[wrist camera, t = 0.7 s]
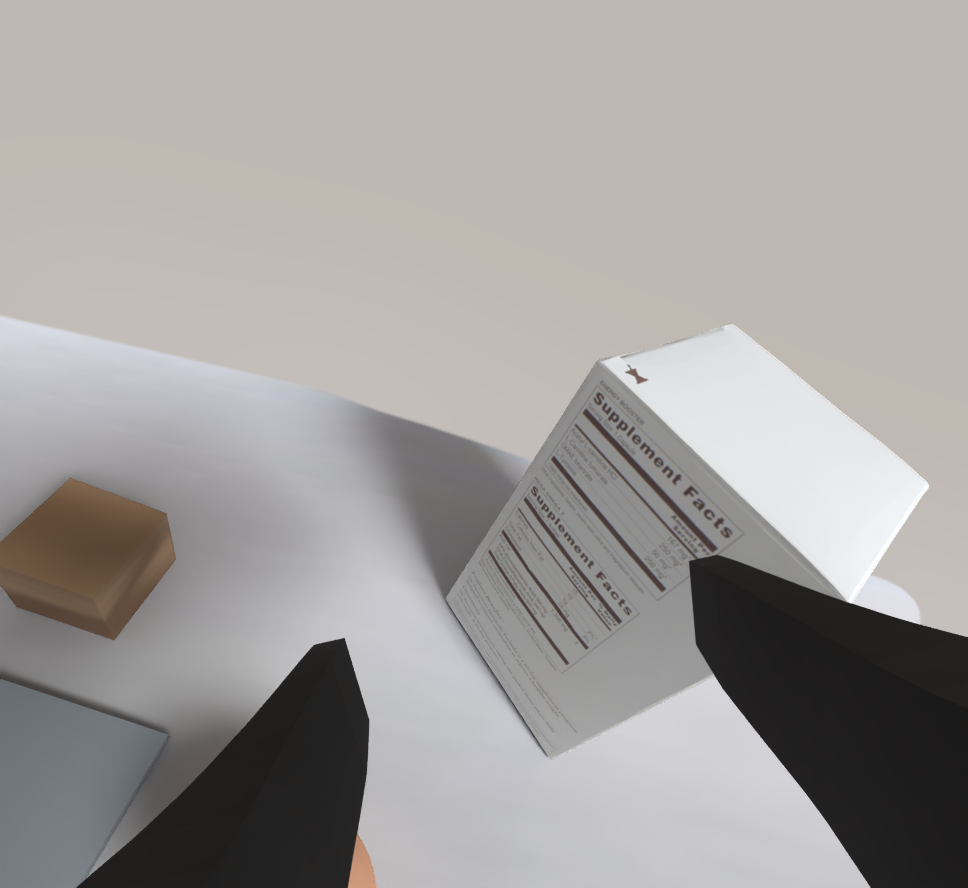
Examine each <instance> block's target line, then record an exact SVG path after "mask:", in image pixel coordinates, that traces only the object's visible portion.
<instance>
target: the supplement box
mask: <svg viewBox="0 0 968 888" xmlns="http://www.w3.org/2000/svg"><path fill="white" fill-rule="evenodd" d="M928 488H929V485H928V483H927V482H926V481H925V480H924V479H923V478H922V477H920V475H919V474H917V473H916V472H915V471H914V470H913V469H912V468H911V467H910V466H909V465H908V464H906V463H905V462H904V461H903V460H902V459H901V458H899V457H898V456H897V455H896V454H894V453H893V452H892V451H891V450H890V449H888V448H887V447H886V446H885V445H884V444H882V443H881V442H880V441H878V440H877V439H876V438H875V437H874V436H872V435H871V434H870V433H868V432H867V431H866V430H865V429H863V428H862V427H861V426H859V425H858V424H857V423H855V422H854V421H853V420H851V419H850V418H849V417H848V416H846V415H845V414H844V413H843V412H841V411H840V410H839V409H837V408H836V407H835V406H834V405H833V404H832V403H830V402H829V401H828V400H827V399H825V398H824V397H823V396H822V395H821V394H819V393H818V392H817V391H816V390H814V389H813V388H812V387H811V386H809V385H808V384H807V383H806V382H805V381H803V380H802V379H801V378H800V377H798V376H797V375H796V374H795V373H794V372H792V371H791V370H790V369H789V368H787V367H786V366H785V365H784V364H783V363H781V362H780V361H779V360H778V359H776V358H775V357H774V356H773V355H772V354H770V353H769V352H768V351H766V350H765V349H764V348H762V347H761V346H760V345H759V344H758V343H756V342H755V341H754V340H752V339H751V338H750V337H749V336H747V335H746V334H745V333H744V332H742V331H741V330H740V329H739V328H737V327H736V326H735V325H733V324H726V325H723V326H721V327H718V328H715V329H712V330H709V331H706V332H703V333H700V334H698V335H694V336H691V337H688V338H684V339H681V340H677V341H674V342H671V343H667V344H664V345H661V346H657V347H653V348H649V349H645V350H640V351H636V352H632V353H628V354H624V355H619V356H614V357H609V358H604V359H600V360H598V361H597V362H596V363H595V365H594V366H593V368H592V369H591V371H590V373H589V374H588V375H587V377H586V379H585V380H584V382H583V383H582V385H581V386H580V388H579V390H578V391H577V393H576V394H575V396H574V397H573V399H572V401H571V402H570V404H569V405H568V407H567V408H566V410H565V411H564V413H563V415H562V416H561V418H560V419H559V421H558V423H557V424H556V426H555V428H554V429H553V430H552V432H551V433H550V435H549V437H548V438H547V440H546V441H545V443H544V445H543V446H542V447H541V449H540V451H539V452H538V454H537V455H536V457H535V459H534V460H533V462H532V463H531V465H530V467H529V468H528V470H527V471H526V473H525V475H524V476H523V478H522V479H521V481H520V482H519V484H518V486H517V487H516V489H515V491H514V492H513V494H512V495H511V497H510V498H509V500H508V501H507V503H506V504H505V506H504V507H503V509H502V511H501V512H500V514H499V515H498V517H497V518H496V520H495V522H494V523H493V524H492V526H491V528H490V529H489V531H488V532H487V534H486V536H485V537H484V539H483V540H482V542H481V543H480V545H479V546H478V548H477V549H476V551H475V553H474V554H473V556H472V557H471V559H470V560H469V562H468V564H467V565H466V566H465V568H464V570H463V571H462V573H461V574H460V576H459V577H458V579H457V580H456V582H455V584H454V585H453V587H452V588H451V590H450V592H449V593H448V595H447V596H446V601H447V602H448V604H449V606H450V607H451V609H452V610H453V612H454V613H455V615H456V616H457V618H458V619H459V621H460V622H461V624H462V626H463V627H464V629H465V630H466V632H467V633H468V635H469V636H470V638H471V639H472V641H473V642H474V644H475V645H476V647H477V648H478V650H479V651H480V653H481V654H482V656H483V658H484V659H485V661H486V662H487V664H488V665H489V667H490V668H491V670H492V671H493V673H494V674H495V676H496V677H497V679H498V680H499V682H500V683H501V685H502V686H503V688H504V690H505V691H506V693H507V694H508V696H509V697H510V699H511V700H512V702H513V703H514V705H515V706H516V708H517V710H518V711H519V713H520V714H521V716H522V717H523V719H524V720H525V722H526V723H527V725H528V726H529V728H530V729H531V731H532V732H533V734H534V736H535V737H536V739H537V740H538V742H539V743H540V745H541V746H542V748H543V749H544V751H545V753H546V754H547V756H548V757H549V758H550V759H555V758H557V757H559V756H561V755H563V754H565V753H567V752H569V751H571V750H573V749H575V748H577V747H579V746H581V745H583V744H585V743H586V742H588V741H590V740H592V739H594V738H596V737H598V736H600V735H602V734H604V733H606V732H608V731H610V730H612V729H614V728H615V727H617V726H619V725H621V724H623V723H625V722H627V721H629V720H631V719H633V718H635V717H637V716H639V715H641V714H643V713H645V712H647V711H649V710H650V709H652V708H654V707H656V706H658V705H660V704H662V703H664V702H666V701H668V700H670V699H672V698H674V697H676V696H677V695H679V694H681V693H683V692H685V691H687V690H689V689H691V688H693V687H695V686H697V685H699V684H701V683H703V682H705V681H707V680H709V679H711V678H713V677H715V675H714V674H713V672H712V671H711V669H710V668H709V666H708V664H707V662H706V661H705V659H704V657H703V656H702V654H701V652H700V651H699V649H698V647H697V646H696V641H695V629H694V617H693V605H692V594H691V582H690V570H689V561H690V560H695V559H699V558H704V557H708V556H713V555H720V556H723V557H727V558H730V559H733V560H736V561H738V562H741V563H744V564H746V565H749V566H752V567H754V568H757V569H760V570H762V571H765V572H767V573H770V574H773V575H775V576H778V577H780V578H783V579H786V580H788V581H791V582H794V583H796V584H799V585H801V586H804V587H807V588H810V589H812V590H815V591H818V592H820V593H823V594H826V595H829V596H832V597H834V598H837V599H840V600H843V601H846V602H849V603H853V601H854V600H855V598H856V596H857V595H858V593H859V591H860V590H861V588H862V587H863V585H864V584H865V582H866V581H867V579H868V578H869V576H870V575H871V573H872V572H873V570H874V569H875V567H876V565H877V564H878V562H879V561H880V559H881V558H882V556H883V554H884V553H885V551H886V550H887V548H888V547H889V545H890V544H891V542H892V540H893V539H894V537H895V536H896V534H897V533H898V531H899V530H900V528H901V527H902V525H903V524H904V522H905V521H906V519H907V518H908V516H909V515H910V513H911V512H912V510H913V509H914V507H915V506H916V504H917V503H918V501H919V500H920V498H921V497H922V495H923V494H924V492H925V491H926V490H927V489H928Z"/></svg>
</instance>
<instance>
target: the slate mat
mask: <svg viewBox="0 0 968 888" xmlns="http://www.w3.org/2000/svg"><path fill="white" fill-rule="evenodd" d="M169 738H170V736H169V735H168V734H165V733H162V732H159V731H156V730H153V729H150V728H147V727H144V726H141V725H138V724H135V723H132V722H129V721H126V720H123V719H120V718H117V717H114V716H111V715H108V714H105V713H102V712H99V711H96V710H93V709H90V708H87V707H84V706H81V705H78V704H75V703H72V702H69V701H66V700H63V699H60V698H57V697H54V696H51V695H48V694H45V693H42V692H39V691H36V690H33V689H30V688H27V687H24V686H21V685H18V684H15V683H12V682H9V681H6V680H3V679H0V888H76V887H77V886H78V885H79V884H81V883H82V882H83V881H84V880H85V879H86V877H87V876H88V874H89V872H90V871H91V869H92V867H93V866H94V864H95V862H96V861H97V859H98V857H99V856H100V854H101V852H102V850H103V849H104V847H105V845H106V844H107V842H108V840H109V839H110V837H111V835H112V834H113V832H114V830H115V829H116V827H117V825H118V824H119V822H120V820H121V819H122V817H123V815H124V813H125V812H126V810H127V808H128V807H129V805H130V803H131V802H132V800H133V798H134V797H135V795H136V793H137V792H138V790H139V788H140V787H141V785H142V783H143V782H144V780H145V778H146V776H147V775H148V773H149V771H150V770H151V768H152V766H153V765H154V763H155V761H156V760H157V758H158V756H159V755H160V753H161V751H162V750H163V748H164V746H165V745H166V743H167V741H168V740H169Z"/></svg>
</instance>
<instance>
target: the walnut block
mask: <svg viewBox="0 0 968 888" xmlns="http://www.w3.org/2000/svg"><path fill="white" fill-rule="evenodd" d="M175 560H176V558H175V553H174V548H173V543H172V538H171V533H170V528H169V523H168V518H167V514H166V513H164V512H161V511H158V510H156V509H153V508H150V507H148V506H145V505H142V504H139V503H137V502H134V501H131V500H129V499H126V498H123V497H121V496H118V495H115V494H112V493H110V492H107V491H104V490H102V489H99V488H96V487H93V486H91V485H88V484H85V483H83V482H80V481H77V480H75V479H72V478H70V479H69V480H68V481H67V482H65V483H64V484H63V485H62V486H61V487H60V488H59V489H58V490H57V491H56V492H55V493H54V494H52V495H51V496H50V497H49V498H48V499H47V500H46V501H45V502H44V503H43V504H42V505H41V506H39V507H38V508H37V509H36V510H35V511H34V512H33V513H32V514H31V515H30V516H29V517H27V518H26V519H25V520H24V521H23V522H22V523H21V524H20V525H19V526H18V527H17V528H16V529H14V530H13V531H12V532H11V533H10V534H9V535H8V536H7V537H6V538H5V539H4V540H3V541H1V542H0V585H1V587H2V588H3V589H4V591H5V592H6V593H7V595H8V596H9V597H10V598H11V600H12V601H13V602H14V604H15V605H16V606H17V607H19V608H22V609H25V610H28V611H31V612H34V613H37V614H40V615H42V616H45V617H48V618H51V619H54V620H57V621H60V622H63V623H66V624H69V625H71V626H74V627H77V628H80V629H83V630H86V631H89V632H92V633H95V634H97V635H100V636H103V637H106V638H109V639H112V640H115V638H116V637H117V636H118V634H119V633H120V632H121V631H122V629H123V628H124V627H125V625H126V624H127V623H128V621H129V620H130V619H131V617H132V616H133V615H134V613H135V612H136V611H137V610H138V608H139V607H140V606H141V604H142V603H143V602H144V600H145V599H146V598H147V596H148V595H149V594H150V592H151V591H152V590H153V589H154V587H155V586H156V585H157V583H158V582H159V581H160V579H161V578H162V577H163V575H164V574H165V573H166V571H167V570H168V569H169V568H170V566H171V565H172V564H173V562H174V561H175Z"/></svg>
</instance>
